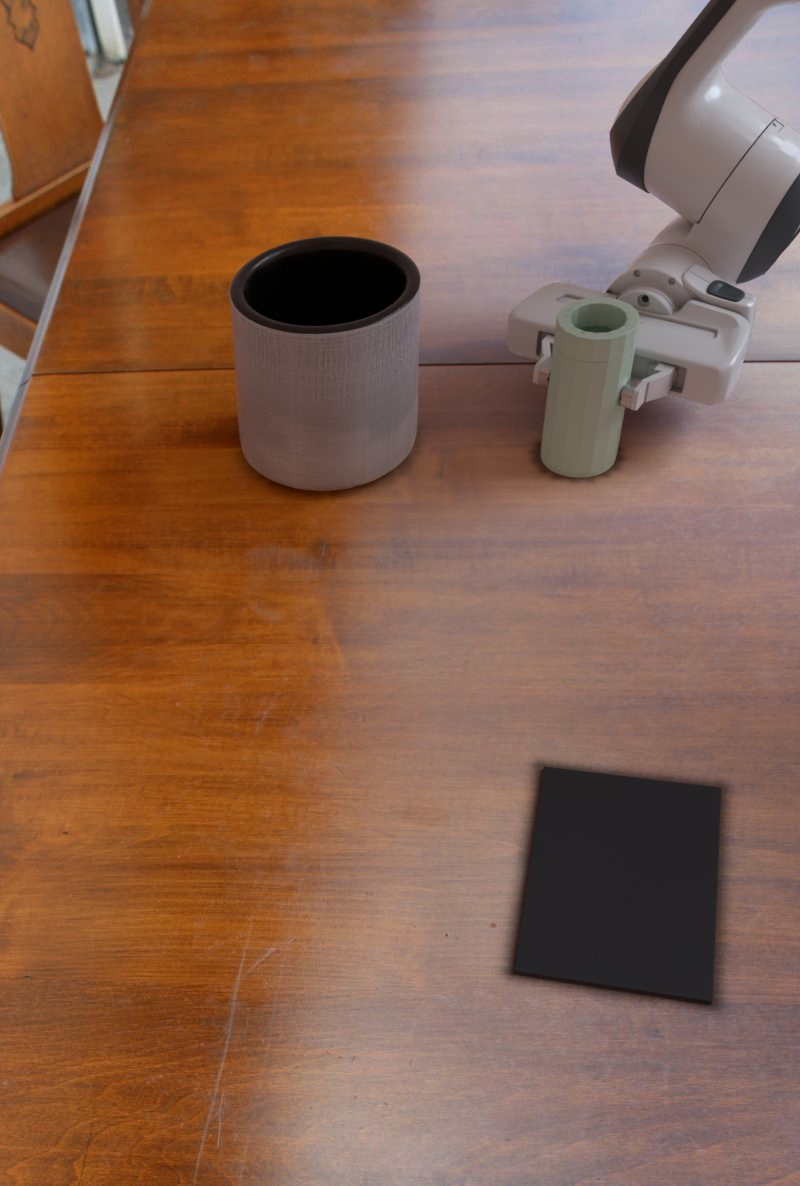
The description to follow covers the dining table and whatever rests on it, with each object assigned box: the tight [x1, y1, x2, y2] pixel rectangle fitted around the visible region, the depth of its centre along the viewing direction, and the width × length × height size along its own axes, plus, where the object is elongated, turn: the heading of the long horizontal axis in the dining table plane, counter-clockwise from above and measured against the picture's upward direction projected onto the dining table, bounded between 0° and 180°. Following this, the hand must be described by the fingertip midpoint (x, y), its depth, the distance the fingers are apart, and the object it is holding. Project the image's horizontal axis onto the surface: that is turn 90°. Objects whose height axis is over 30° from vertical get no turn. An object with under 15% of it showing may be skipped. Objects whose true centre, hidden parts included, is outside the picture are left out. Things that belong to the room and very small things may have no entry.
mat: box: [513, 766, 722, 1005], centre depth 88 cm, size 18×12×1 cm, turn 165°
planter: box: [229, 235, 422, 492], centre depth 115 cm, size 16×16×16 cm
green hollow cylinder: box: [540, 297, 640, 478], centre depth 112 cm, size 6×6×13 cm
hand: (584, 389), depth 111 cm, fingers closed on green hollow cylinder, 6 cm apart
